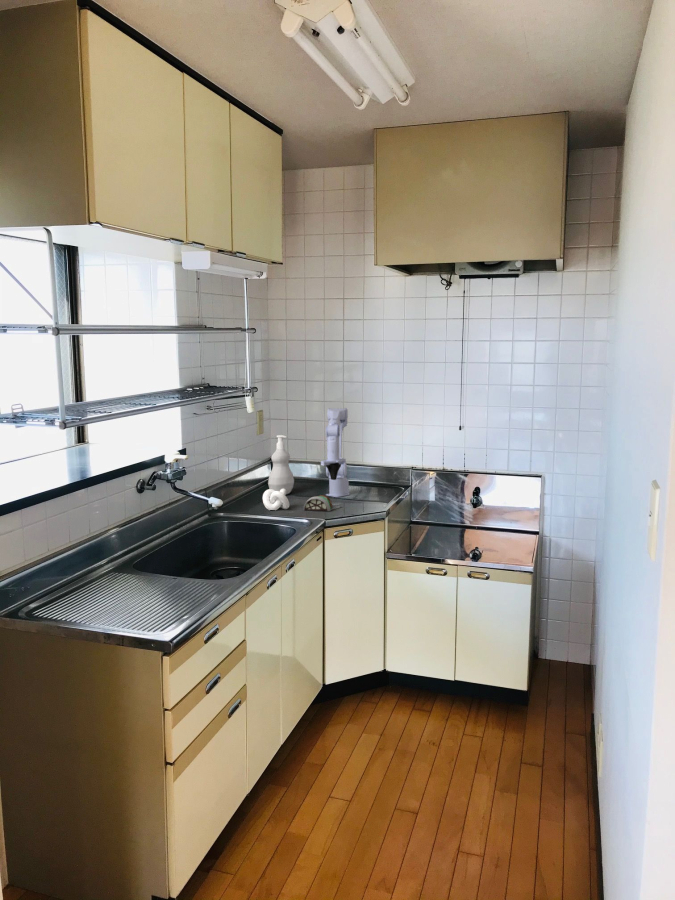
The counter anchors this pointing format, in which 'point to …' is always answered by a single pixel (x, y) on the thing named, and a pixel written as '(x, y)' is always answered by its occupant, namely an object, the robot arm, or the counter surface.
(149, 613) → the counter surface
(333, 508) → the mat
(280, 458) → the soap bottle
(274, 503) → the white knot
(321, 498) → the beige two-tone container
